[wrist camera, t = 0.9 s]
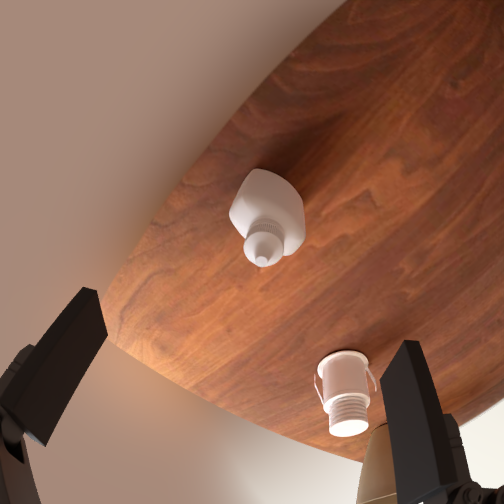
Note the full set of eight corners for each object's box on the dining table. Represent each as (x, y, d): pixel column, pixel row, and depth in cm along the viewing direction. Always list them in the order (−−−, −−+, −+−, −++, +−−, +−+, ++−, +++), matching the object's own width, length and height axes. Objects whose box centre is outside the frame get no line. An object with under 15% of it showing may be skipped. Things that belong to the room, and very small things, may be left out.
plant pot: (338, 434, 49) (339, 507, 35) (405, 403, 42) (419, 484, 28) (375, 450, 52) (379, 511, 39) (433, 423, 46) (446, 488, 32)
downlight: (372, 344, 35) (386, 409, 27) (369, 376, 39) (378, 435, 30) (312, 352, 37) (313, 419, 28) (315, 383, 40) (316, 443, 32)
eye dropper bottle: (265, 226, 29) (249, 309, 19) (237, 175, 27) (202, 234, 17) (307, 209, 28) (316, 286, 17) (281, 155, 25) (275, 203, 15)
